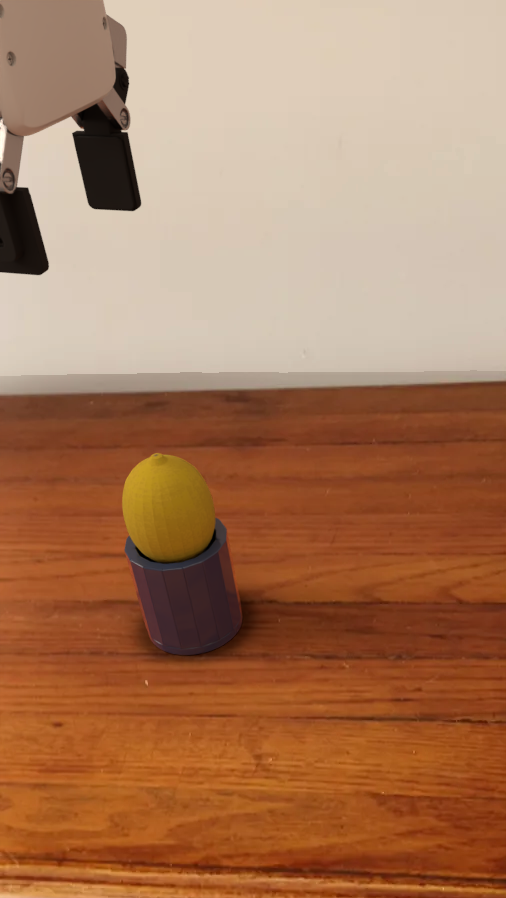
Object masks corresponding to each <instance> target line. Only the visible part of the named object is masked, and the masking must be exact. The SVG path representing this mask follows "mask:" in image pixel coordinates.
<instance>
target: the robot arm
mask: <svg viewBox="0 0 506 898" xmlns="http://www.w3.org/2000/svg"><path fill="white" fill-rule="evenodd" d="M104 1H105V0H0V273H5V274H15V275H28V276H29V275H30V276H31V275H32V276H41V275H43V274H44V273H46V272H47V271H48V270H49V268H50V262H49V259H48V255H47V252H46V248H45V243H44V240H43V236H42V233H41V229H40V225H39V220H38V218H37V214H36V210H35V206H34V202H33V199H32V195H31V192H30V189H29V187H27V186H26V187H25V186H24V187H23V186H18V183H19V174H20V167H21V161H22V155H23V154H22V153H23V145H24V139H25V137H28V136H32V135H34V134H38V133H40V132H42V131H44V130H47V129H48V128H50V127H53V126H54V125H56V124H58V123H60V122H62V121H65V120H67V119H69V118H72V120H73V121H74V122H75V124H76V125H77V126H78V127H79V128H80V129H81V130H75V131H73V132H71V136H72V139H73V143H74V149H75V153H76V157H77V161H78V164H79V170H80V175H81V178H82V184H83V187H84V193H85V196H86V200H87V204H88V206H89V208H91V209H93V210H100V211H101V210H102V211H103V210H104V211H120V212H135V211H136V210H138V209H140V208H141V206H142V198H141V193H140V189H139V183H138V178H137V172H136V168H135V162H134V158H133V153H132V148H131V147H132V146H131V142H130V138H129V132H128V130H129V128H130V127H131V113H130V111H129V108H128V107H127V105H126V102H127V98H128V92H129V88H130V87H129V86H130V77H129V75H128V72H127V70H126V69H127V51H128V50H127V47H128V35H127V30H126V29H125V26H123V24H121V23H120V22H118V21H117V20H116V19H114V18H112V16H110V15H108V14H107V12H106V7H105V2H104Z"/></svg>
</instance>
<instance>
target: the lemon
mask: <svg viewBox="0 0 506 898" xmlns="http://www.w3.org/2000/svg"><path fill="white" fill-rule="evenodd" d="M124 481H125V482H124V485H123V490H122V495H121V496H122V498H121V499H122V500H121V509H122V515H123V520H124V524H125V528H126V531H127V533H128V536H130V538H131V539H132V541H133V543H134V544H135V545H136V546H137V548H138V549H139V550H140V551H141V552H142V553H143V554H144V555H145V556H147V557H148V558H150V559H152V560H154V561H156V562H158V563H163V564H169V563H179V562H184V561H187V560H190V559H193V558H195V557H198V556H199V555H200V554H201V553H202V552H203V551H204V550H205V549H206V548H207V546H208V545H209V543H210V541H211V539H212V536H213V532H214V529H215V517H216V509H215V503H214V499H213V496H212V492H211V490H210V487H209V485H208V484H207V482H206V480H205V478H204V477H203V475H202V474H201V472H200V471H199V470H198V469H197V467H196V466H194V465H193V464H192V463H190V462H189V461H187V460H186V459H185V458H182V457H179V456H176V455H172V454H162V453H160V452H156V453H153V454H151V455H150V456H148V457H147V458H144V459H143V460H141V461H140V462H138V464H136V465H135V466H134V467H133V468H132V469H131V471H130V472H129V474H128V476H127V477H126V479H125V480H124Z"/></svg>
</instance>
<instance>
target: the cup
mask: <svg viewBox="0 0 506 898" xmlns="http://www.w3.org/2000/svg"><path fill="white" fill-rule="evenodd" d="M228 533H229V532H228V529H227V527H226V526H225V525H224V523H223V522H222V520H221V519H219V518H218V517H216V516H215V529H214V532H213V536H212V539H211V541H210V543H209V545H208V546H207V548H206V549H205V550H204V551H203V552H202V553H201V554H200V555H199V556H198V557H195V558H193V559H190V560H187V561H184V562H179V563H169V564H163V563H158V562H156V561H154V560H152V559H150V558H148V557H147V556H145V555H144V554H143V553H142V552H141V551H140V550H139V549H138V548H137V546H136V545H135V544H134V543H133V541H132V539H131V538H130V536H129V535H128V536H127V537H126V540H125V543H124V549H123V551H124V555H125V557H126V562H127V565H128V569H129V572H130V576H131V579H132V583H133V587H134V590H135V594H136V597H137V601H138V604H139V608H140V612H141V615H142V619H143V622H144V627H145V629H146V630H147V634H148V637H149V640H150V641H151V643H152V644H153V645H154V646H155V647H156V648H158V649H159V650H161V651H163V652H165V653H168V654H172V655H178V656H195V655H200V654H205V653H208V652H209V653H210V652H211V651H214V650H217V649H218V648H220V647H222V646H224V645H225V644H227V643H228V642H230V641H231V640H232V639H233V638H234V637H235V636H236V635H237V634H238V632H239V631H240V629H241V627H242V624H243V619H244V618H243V612H242V602H241V598H240V592H239V591H240V590H239V586H238V581H237V575H236V570H235V565H234V561H233V555H232V550H231V543H230V539H229V534H228Z"/></svg>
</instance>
